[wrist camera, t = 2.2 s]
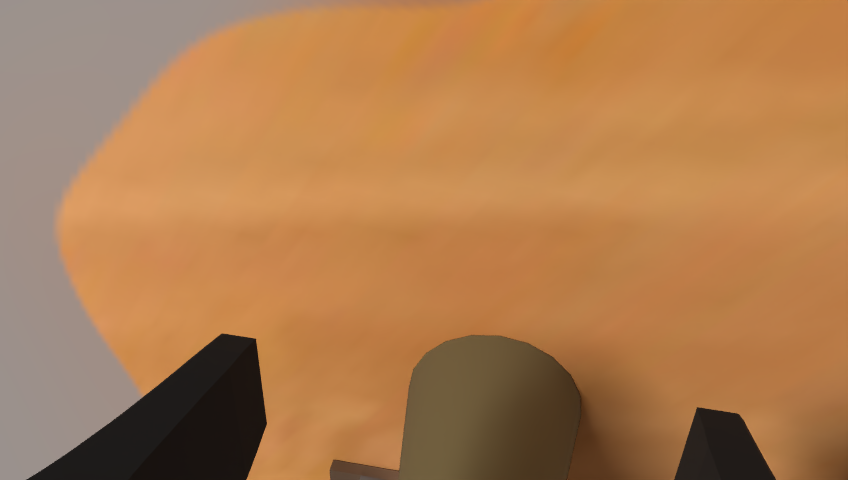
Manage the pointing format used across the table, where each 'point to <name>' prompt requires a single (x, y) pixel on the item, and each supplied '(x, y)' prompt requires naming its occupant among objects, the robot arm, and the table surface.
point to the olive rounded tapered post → (489, 413)
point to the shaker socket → (360, 472)
